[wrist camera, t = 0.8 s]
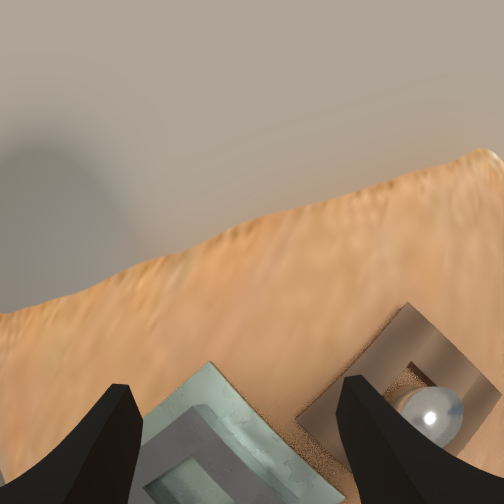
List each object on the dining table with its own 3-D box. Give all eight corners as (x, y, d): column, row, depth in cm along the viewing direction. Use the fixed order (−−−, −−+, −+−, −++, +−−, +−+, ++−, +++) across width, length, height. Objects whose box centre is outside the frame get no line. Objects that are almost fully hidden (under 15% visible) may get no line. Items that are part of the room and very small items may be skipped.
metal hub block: (345, 495, 18) (349, 511, 14) (204, 576, 15) (190, 594, 12) (211, 361, 24) (195, 357, 21) (97, 457, 22) (73, 461, 19)
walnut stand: (490, 394, 18) (502, 394, 16) (394, 504, 16) (400, 512, 14) (401, 307, 23) (407, 301, 21) (296, 417, 21) (295, 420, 20)
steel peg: (435, 406, 19) (474, 411, 13) (401, 444, 19) (430, 463, 12) (404, 376, 21) (435, 373, 15) (369, 414, 20) (389, 426, 14)
